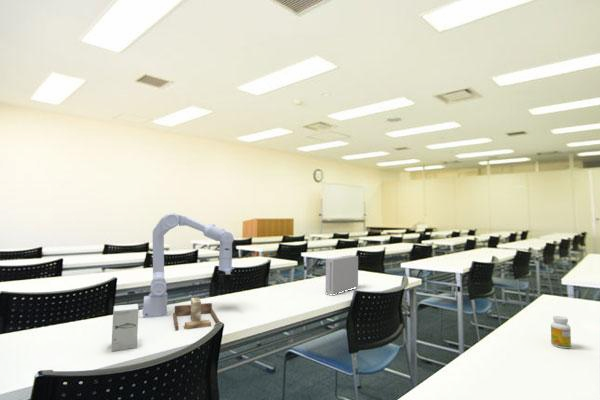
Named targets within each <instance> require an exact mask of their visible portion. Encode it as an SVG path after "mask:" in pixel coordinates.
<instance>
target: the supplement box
mask: <svg viewBox="0 0 600 400" xmlns="http://www.w3.org/2000/svg"><path fill="white" fill-rule="evenodd" d="M112 311H113V312H112V328H111V329H112V331H111V352H114V351H115V352H116V351H121V350H129V349H136V348H137V347H138V332H139V331H138V328H139V327H138V325H139V303H133V304H121V305H120V304H119V305H114V306H113V310H112Z"/></svg>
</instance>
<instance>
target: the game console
mask: <svg viewBox="0 0 600 400" xmlns="http://www.w3.org/2000/svg"><path fill="white" fill-rule="evenodd" d="M358 286H359V255H343V256H338V257H331V258H325V294H326V293H327V294H332V295H333V294H336V293H339V292H342V291H345V290H348V289H351V288H354V287H357V288H358ZM327 294H326V295H327ZM332 295H331V296H332ZM333 296H334V295H333Z"/></svg>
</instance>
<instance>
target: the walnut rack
mask: <svg viewBox="0 0 600 400" xmlns="http://www.w3.org/2000/svg"><path fill="white" fill-rule="evenodd" d="M212 308H213V303H212V302H209V303H207V302H205V303H201V315H206V314H207V315H208V314H210V316H211V317H212V320H213V321H214V323H215V324H216V323H218V322H220V323H221V321H220V319H219V318H218V316H217V314H216V312H215V311H214V309H212ZM186 316H187V317H188V316H191V304H185V305H174V312H173V315H172V317H173V322H174V323H173V324H174V330H175V331H179V321H178V317H186Z"/></svg>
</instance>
